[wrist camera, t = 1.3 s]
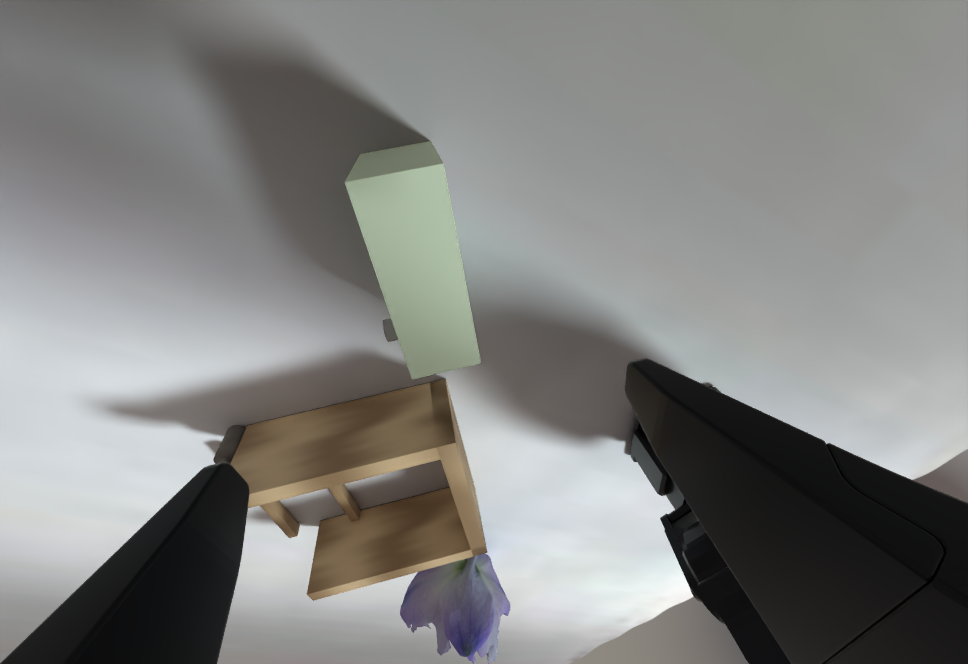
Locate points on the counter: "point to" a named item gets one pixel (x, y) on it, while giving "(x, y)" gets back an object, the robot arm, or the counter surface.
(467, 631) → the flower
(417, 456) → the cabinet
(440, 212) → the pale green block
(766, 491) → the robot arm
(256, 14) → the counter surface
